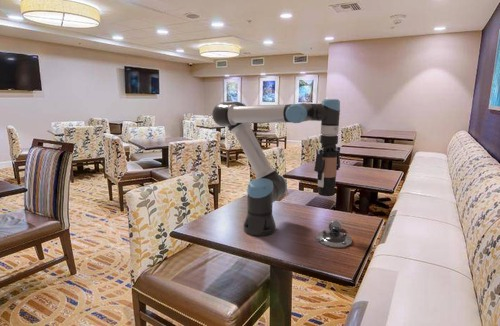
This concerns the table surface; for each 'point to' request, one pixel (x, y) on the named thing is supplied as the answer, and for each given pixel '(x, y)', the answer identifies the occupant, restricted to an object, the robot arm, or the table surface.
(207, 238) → the table surface
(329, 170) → the travel mug
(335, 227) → the fitting
